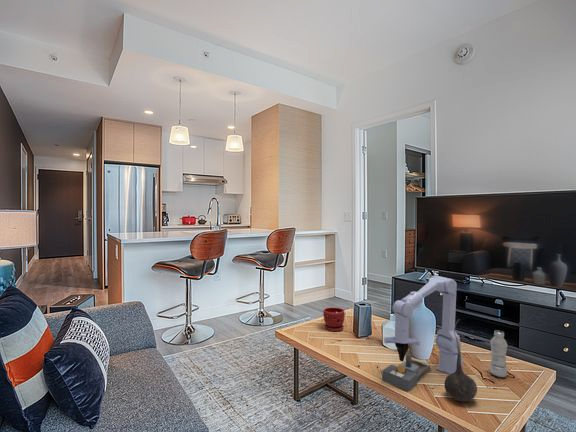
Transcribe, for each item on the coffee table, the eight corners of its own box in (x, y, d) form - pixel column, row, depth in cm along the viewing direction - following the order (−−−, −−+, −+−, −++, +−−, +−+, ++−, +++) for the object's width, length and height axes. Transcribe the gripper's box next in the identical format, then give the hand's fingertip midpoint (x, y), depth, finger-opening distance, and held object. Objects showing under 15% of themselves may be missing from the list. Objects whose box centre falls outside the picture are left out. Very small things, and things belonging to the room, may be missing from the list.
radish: (477, 393, 133) (478, 320, 132) (476, 410, 121) (478, 330, 120) (446, 385, 139) (447, 315, 138) (442, 401, 127) (444, 324, 126)
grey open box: (417, 384, 139) (417, 373, 139) (408, 391, 133) (408, 379, 133) (391, 374, 147) (391, 363, 147) (382, 380, 142) (382, 369, 142)
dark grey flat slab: (430, 370, 151) (430, 365, 151) (415, 383, 140) (415, 377, 140) (409, 363, 158) (409, 358, 158) (393, 374, 147) (393, 369, 147)
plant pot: (346, 327, 207) (346, 308, 207) (341, 334, 195) (341, 314, 195) (326, 323, 212) (327, 305, 212) (320, 330, 200) (320, 311, 200)
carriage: (419, 373, 146) (419, 355, 146) (413, 377, 141) (413, 359, 141) (404, 367, 151) (404, 350, 150) (397, 372, 146) (398, 354, 146)
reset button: (406, 375, 141) (406, 367, 141) (402, 378, 139) (403, 369, 139) (399, 373, 143) (399, 364, 143) (396, 375, 141) (396, 366, 141)
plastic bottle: (501, 380, 143) (502, 335, 142) (486, 373, 149) (487, 330, 148) (510, 377, 146) (511, 333, 145) (494, 370, 152) (495, 328, 151)
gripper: (416, 326, 144) (416, 357, 144) (383, 324, 146) (382, 355, 146) (421, 332, 137) (420, 364, 137) (386, 330, 139) (385, 362, 139)
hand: (401, 360), depth 141 cm, fingers closed
